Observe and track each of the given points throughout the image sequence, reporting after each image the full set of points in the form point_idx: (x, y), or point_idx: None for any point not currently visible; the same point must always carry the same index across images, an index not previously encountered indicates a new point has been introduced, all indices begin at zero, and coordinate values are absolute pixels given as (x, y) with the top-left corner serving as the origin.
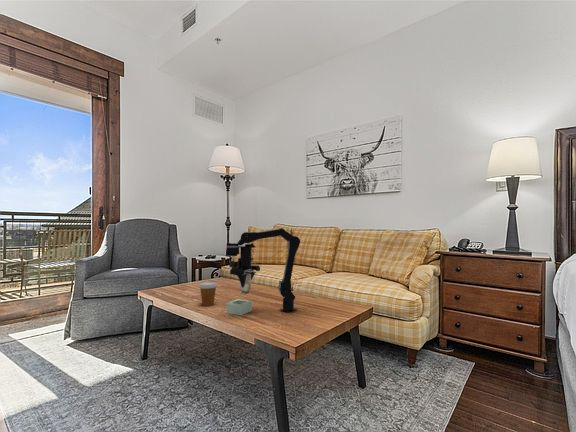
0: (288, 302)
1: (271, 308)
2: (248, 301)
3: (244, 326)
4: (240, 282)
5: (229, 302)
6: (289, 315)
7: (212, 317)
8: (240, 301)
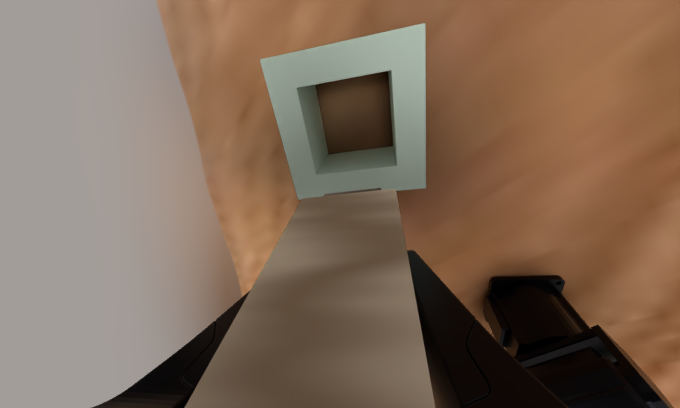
0: (508, 352)
1: (520, 221)
2: (406, 173)
3: (242, 272)
4: (241, 303)
5: (285, 68)
6: None
7: (179, 76)
8: (392, 95)
